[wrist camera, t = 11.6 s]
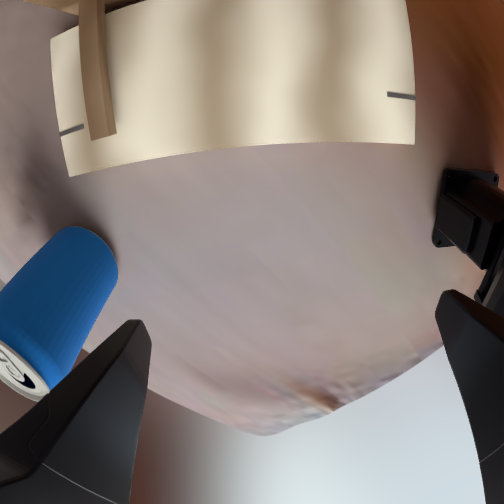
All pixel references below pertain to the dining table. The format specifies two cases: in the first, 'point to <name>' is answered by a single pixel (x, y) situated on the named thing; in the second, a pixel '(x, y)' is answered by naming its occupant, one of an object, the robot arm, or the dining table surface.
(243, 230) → the dining table surface
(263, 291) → the dining table surface
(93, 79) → the block
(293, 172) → the dining table surface
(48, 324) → the beverage can
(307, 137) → the board
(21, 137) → the dining table surface
